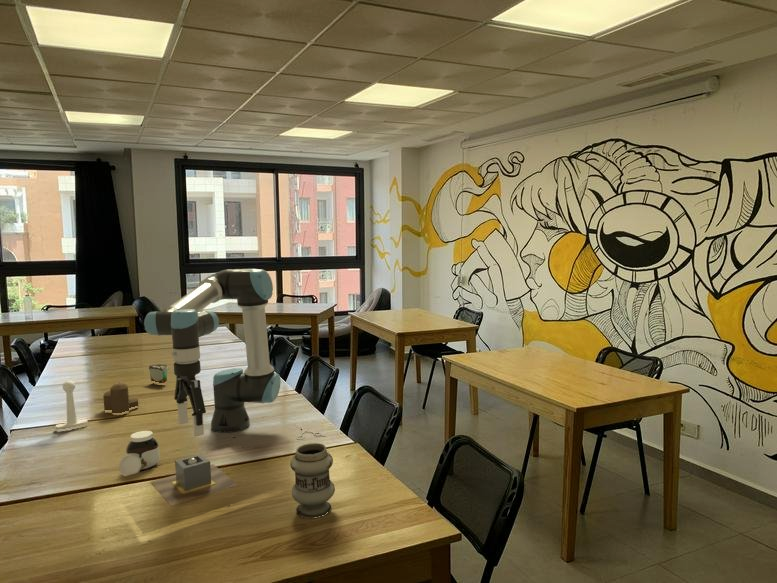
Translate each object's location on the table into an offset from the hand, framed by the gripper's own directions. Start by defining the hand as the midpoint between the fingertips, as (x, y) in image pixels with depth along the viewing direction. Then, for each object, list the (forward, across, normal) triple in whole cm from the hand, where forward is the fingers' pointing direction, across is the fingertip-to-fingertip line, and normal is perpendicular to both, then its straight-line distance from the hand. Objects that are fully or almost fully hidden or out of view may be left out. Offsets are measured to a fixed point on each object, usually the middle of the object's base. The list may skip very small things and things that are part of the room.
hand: (190, 429), depth 166 cm
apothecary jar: (+19, +36, +21) cm, 46 cm away
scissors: (+19, -20, +51) cm, 58 cm away
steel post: (+17, 0, 0) cm, 17 cm away
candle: (+19, -97, +2) cm, 99 cm away
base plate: (+19, 0, 0) cm, 19 cm away
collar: (+17, 0, 0) cm, 17 cm away
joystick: (+19, -88, -19) cm, 92 cm away
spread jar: (+19, -25, -9) cm, 33 cm away
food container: (+19, -132, +30) cm, 136 cm away
